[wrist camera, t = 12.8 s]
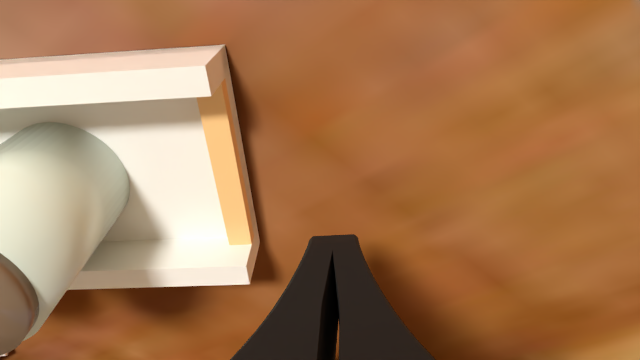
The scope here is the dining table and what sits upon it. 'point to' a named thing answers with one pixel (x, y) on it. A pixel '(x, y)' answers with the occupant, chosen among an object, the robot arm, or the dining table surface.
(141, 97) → the tray
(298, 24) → the dining table surface
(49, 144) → the jar
